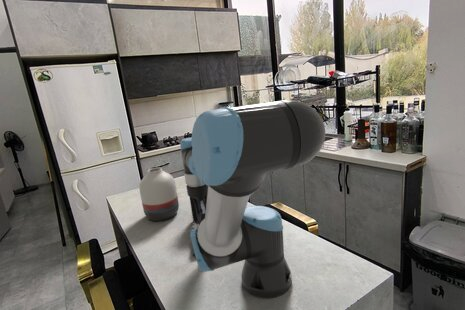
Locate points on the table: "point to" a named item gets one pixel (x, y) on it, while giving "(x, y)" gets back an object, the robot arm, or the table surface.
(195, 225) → the grey long bar
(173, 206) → the vase
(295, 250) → the table surface
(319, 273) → the table surface
